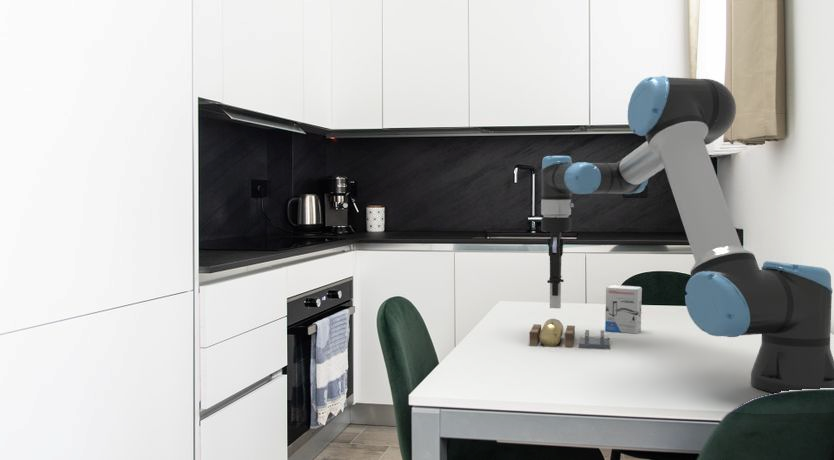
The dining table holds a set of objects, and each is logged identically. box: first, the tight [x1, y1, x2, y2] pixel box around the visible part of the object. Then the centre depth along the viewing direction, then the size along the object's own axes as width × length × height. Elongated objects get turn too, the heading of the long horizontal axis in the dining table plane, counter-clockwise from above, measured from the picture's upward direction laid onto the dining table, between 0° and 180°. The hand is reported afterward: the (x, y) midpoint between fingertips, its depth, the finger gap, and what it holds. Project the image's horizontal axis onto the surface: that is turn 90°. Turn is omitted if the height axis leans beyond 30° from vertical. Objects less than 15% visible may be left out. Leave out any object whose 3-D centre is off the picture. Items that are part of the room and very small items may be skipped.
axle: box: [539, 318, 564, 348], centre depth 202 cm, size 12×5×5 cm, turn 167°
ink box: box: [604, 284, 643, 335], centre depth 217 cm, size 9×5×12 cm, turn 62°
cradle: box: [578, 329, 611, 350], centre depth 198 cm, size 9×7×3 cm
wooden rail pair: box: [529, 324, 576, 348], centre depth 202 cm, size 12×10×3 cm
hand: (555, 307), depth 214 cm, fingers closed
